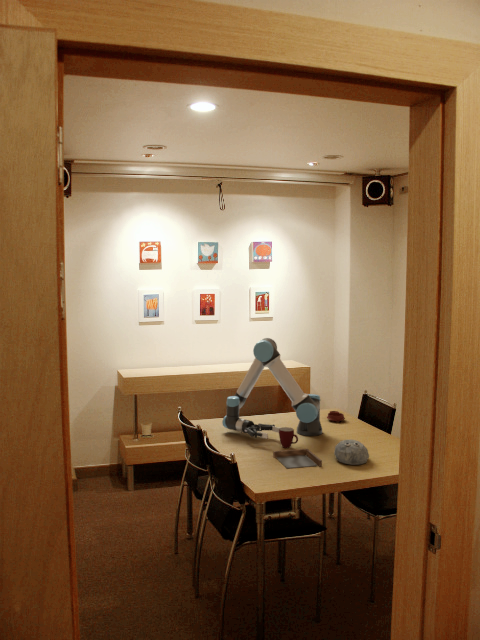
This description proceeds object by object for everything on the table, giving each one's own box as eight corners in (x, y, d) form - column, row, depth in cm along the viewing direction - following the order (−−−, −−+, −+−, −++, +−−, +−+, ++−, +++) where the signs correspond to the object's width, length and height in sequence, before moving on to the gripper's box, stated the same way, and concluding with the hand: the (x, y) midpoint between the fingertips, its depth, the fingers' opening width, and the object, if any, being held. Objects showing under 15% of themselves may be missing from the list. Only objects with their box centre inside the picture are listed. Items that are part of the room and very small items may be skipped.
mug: (298, 445, 303) (299, 428, 302) (297, 450, 295) (297, 432, 294) (279, 444, 305) (280, 426, 305) (277, 448, 298) (277, 430, 297)
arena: (307, 454, 289) (307, 448, 289) (321, 466, 271) (321, 460, 271) (273, 456, 284) (273, 451, 284) (285, 469, 266) (285, 463, 266)
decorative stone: (368, 455, 289) (369, 436, 289) (369, 468, 269) (370, 448, 268) (334, 452, 293) (335, 434, 292) (333, 465, 273) (333, 445, 272)
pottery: (327, 423, 351) (327, 416, 351) (325, 415, 371) (325, 408, 370) (345, 423, 350) (345, 416, 350) (342, 415, 370) (342, 409, 369)
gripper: (258, 428, 329) (287, 435, 315) (231, 437, 310) (260, 445, 296) (258, 415, 328) (288, 422, 315) (231, 424, 309) (261, 431, 296)
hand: (274, 433), depth 306 cm, fingers open, 13 cm apart
